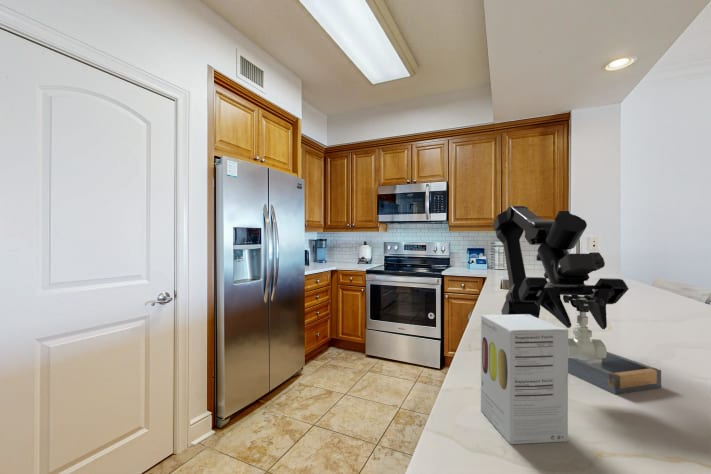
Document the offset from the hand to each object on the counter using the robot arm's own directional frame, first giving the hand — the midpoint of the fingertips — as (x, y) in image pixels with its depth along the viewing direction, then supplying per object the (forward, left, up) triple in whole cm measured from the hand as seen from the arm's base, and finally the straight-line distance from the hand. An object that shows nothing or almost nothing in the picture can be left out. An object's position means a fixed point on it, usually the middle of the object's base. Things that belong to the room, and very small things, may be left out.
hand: (587, 327), depth 59 cm
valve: (-1, +1, -7) cm, 7 cm away
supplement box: (-5, -19, -13) cm, 24 cm away
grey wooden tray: (+1, +13, -13) cm, 19 cm away
